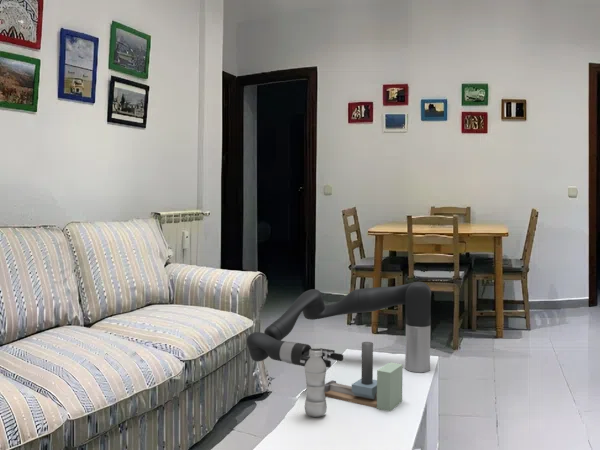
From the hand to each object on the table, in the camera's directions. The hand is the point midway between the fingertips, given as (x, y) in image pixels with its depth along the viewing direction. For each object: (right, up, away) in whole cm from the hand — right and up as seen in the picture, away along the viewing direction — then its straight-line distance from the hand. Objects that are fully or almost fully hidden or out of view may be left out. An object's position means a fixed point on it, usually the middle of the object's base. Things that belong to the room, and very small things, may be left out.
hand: (336, 360), depth 186 cm
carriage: (+9, -10, -5) cm, 14 cm away
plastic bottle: (-8, -12, -18) cm, 23 cm away
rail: (+6, -11, -3) cm, 13 cm away
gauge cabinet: (+16, -12, -10) cm, 22 cm away
